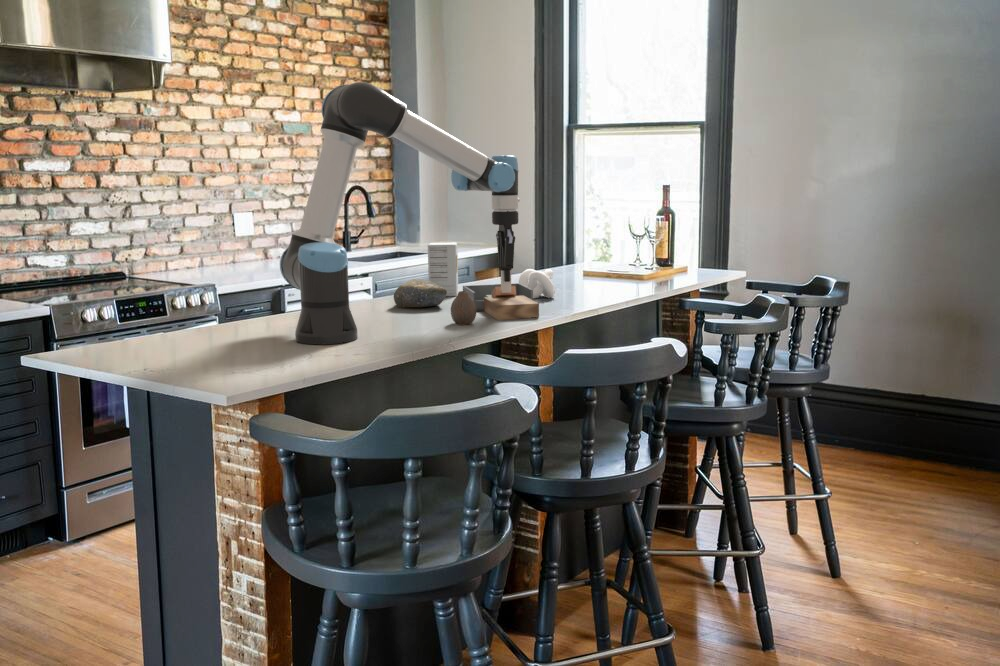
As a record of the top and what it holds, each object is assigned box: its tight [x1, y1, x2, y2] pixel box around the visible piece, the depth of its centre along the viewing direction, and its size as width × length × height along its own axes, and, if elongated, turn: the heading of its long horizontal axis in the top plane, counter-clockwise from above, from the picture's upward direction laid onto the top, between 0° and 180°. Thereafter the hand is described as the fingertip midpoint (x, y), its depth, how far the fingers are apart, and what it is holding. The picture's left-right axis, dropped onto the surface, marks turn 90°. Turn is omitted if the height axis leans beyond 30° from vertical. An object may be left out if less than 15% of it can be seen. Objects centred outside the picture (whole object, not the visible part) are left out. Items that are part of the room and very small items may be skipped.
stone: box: [393, 278, 447, 309], centre depth 275 cm, size 14×19×8 cm
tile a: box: [491, 286, 516, 297], centre depth 268 cm, size 6×6×2 cm
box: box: [462, 282, 534, 312], centre depth 275 cm, size 18×15×6 cm
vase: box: [450, 290, 477, 326], centre depth 245 cm, size 7×7×9 cm
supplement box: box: [427, 241, 459, 297], centre depth 299 cm, size 10×9×17 cm
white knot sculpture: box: [518, 268, 556, 300], centre depth 290 cm, size 11×12×9 cm
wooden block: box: [484, 295, 540, 321], centre depth 260 cm, size 12×16×4 cm
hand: (506, 292), depth 265 cm, fingers closed
